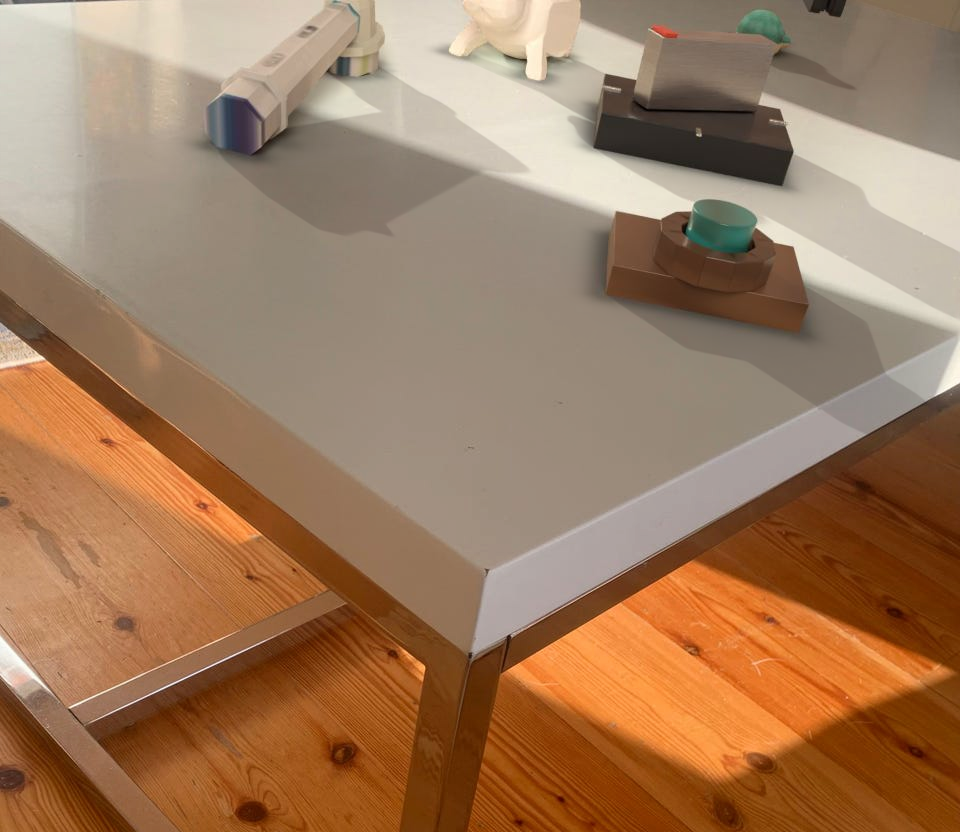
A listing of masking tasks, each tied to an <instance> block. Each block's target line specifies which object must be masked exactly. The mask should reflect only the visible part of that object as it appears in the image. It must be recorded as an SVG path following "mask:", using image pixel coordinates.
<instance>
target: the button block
mask: <svg viewBox="0 0 960 832" xmlns="http://www.w3.org/2000/svg"><path fill="white" fill-rule="evenodd" d="M691 211H692V210H689V211H687V210H686V211H684V210H683V211H673V212H672V213H670V214H668V215H666V216H664V217H662V218H661V219H659V218H655V217H649V216H645V215H638V214H634V213H628V212H624V211H619V210H615V212H614V215H613V220H612V222H611V223H612V224H611V227H610V231H609V235H608V244H607V245H608V246H607V259H606V260H607V262H606V281H605V283H606V284H605V296H609V297H615V298H621V299H625V300H631V301H635V302H641V303H646V304H651V305H656V306H660V307H664V308H670V309H675V310H680V311H685V312H691V313H695V314H700V315H705V316H711V317H714V318H719V319H726V320H730V321H736V322H741V323H746V324H750V325H755V326H760V327H765V328H769V329H775V330H779V331H785V332H790V333H795V334H799V332H800V329H801V327H802V325H803V322H804V319H805V316H806V314H807V311H808V309H809V306H810V303H809V299H808V295H807V291H806V288H805V284H804V280H803V276H802V273H801V269H800V264H799V261H798V258H797V254H796V250H795V247H794V246H793V245H788V244H782V243H778V242H775V241H774V240H773V239H771V238H770V237H769V236H768V235H766V234H765V233H764V232H763V231H761V230H760V229H758V228H757V227H755V230H754V233H753V237H752V240H751V243H750V246H749V249H748V251H747V252H746V253H728V252H723V251H718V250H713V249H710V248H707V247H705V246H703V245H700V244H698V243H696V242H693V241H692V240H690V239H689V238H688V237H687V236H686V235H685V232H686V229H687V225H688V222H689V218H690V215H691Z"/></svg>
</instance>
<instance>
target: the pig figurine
mask: <svg viewBox="0 0 960 832" xmlns="http://www.w3.org/2000/svg"><path fill="white" fill-rule="evenodd" d="M581 3H582V2H581V1H580V0H462V9H463V10H464V13H465V14H467V15H468V16H470V17H471V19H470V20H469V21H468V23H467V24H466V26H465V27H463V29H462V30H461V31H460V32H459V34H458V35H457V36H456V37H455V38H454V40H453V41H452V43H451V45H450V46H449V48H448V52H449V53H450V54H452V55H453V56H457V57H467V56H470V54H471V53H473V51H474V50H475V48H477V47H480V46H482V45H485V44H487V43H489V44H490V45H491V46H492V47H494V49H496V50H497V51H499V52H500V53H502V54H504V55H506V56H509V57H512V58H515V59H519V60H520V59H521V60H526V65H525V75H526V78H527V79H530V80H533V81H543V80H545V79H546V77H547V73H548V62H547V61H548V60H547V58H549V57H555V58H563V57H564V58H569V55H570V52H571V51H572V48H573V47H574V44H575V40H576V37H577V35H578V30H579V27H580V24H581V8H582V5H581Z"/></svg>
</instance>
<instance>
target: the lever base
mask: <svg viewBox="0 0 960 832" xmlns="http://www.w3.org/2000/svg"><path fill="white" fill-rule="evenodd" d="M636 81H637V79H634V78H628V77H624V76H620V75H614V74H609V73H605V74H604V77H603V82H602V85H601V90H600V96H599V98H598V105H597V110H596V119H595V128H594V141H593V149H596V150H600V151H605V152H609V153H614V154H618V155H619V154H620V155H625V156H630V157H635V158H639V159H645V160H648V161H649V160H650V161H654V162H659V163H665V164H669V165H670V164H671V165H674V166H679V167H683V168H689V169H695V170H698V171H704V172H708V173H714V174H718V175H724V176H729V177H732V178H738V179H743V180H747V181H752V182H753V181H754V182H758V183H763V184H768V185H772V186H779V187H783V186H784V185H783V184H784V182H785V179H786V176H787V173H788V170H789V168H790V164H791V161H792V159H793V156H794V152H795V151H794V148H793V145H792V144H793V143H792V141H791V137H790V135H789V132H788V128H787V126H788V125H789V123H788V122H787V121H785V119H784V117H783V114H782V111H781V108H777V107H771V106H766V105H762V104H758V107H757V111H756V112H744V111H700V110H655V109H646V108H644V107H643V106H641V105H640V104H639V103H637V102H636V101H634V100H633V99H632V97H633V93H634V89H635V85H636Z"/></svg>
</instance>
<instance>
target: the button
mask: <svg viewBox="0 0 960 832" xmlns="http://www.w3.org/2000/svg"><path fill="white" fill-rule="evenodd" d="M690 211H691V215H690V218H689V222H688V225H687V229H686V232H685V235H686V236H687V237H688V238H689V239H690V240H692V241H693V242H696V243H698V244H700V245H703V246H705V247H707V248H710V249H713V250H718V251H723V252H728V253H746V252H747V251H748V249H749V246H750V243H751V240H752V237H753V233H754V230H755V228H757V224H758V217H757V216H756V215H755V213H753V212H752V211H751V210H750V209H748V208H746V207H744V206H741V205H739V204H736V203H734V202H730V201H727V200H722V199H713V198H707V199H706V198H705V199H699V200H697V201H695V202H694V203H693V205H692V207H691V210H690Z"/></svg>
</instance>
